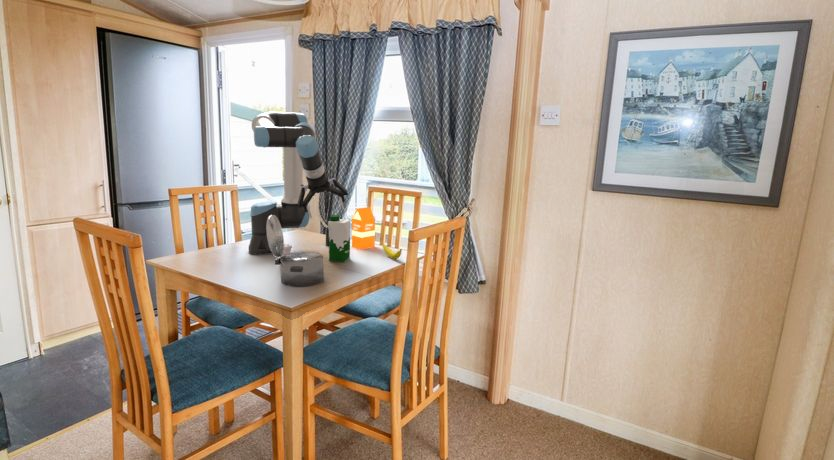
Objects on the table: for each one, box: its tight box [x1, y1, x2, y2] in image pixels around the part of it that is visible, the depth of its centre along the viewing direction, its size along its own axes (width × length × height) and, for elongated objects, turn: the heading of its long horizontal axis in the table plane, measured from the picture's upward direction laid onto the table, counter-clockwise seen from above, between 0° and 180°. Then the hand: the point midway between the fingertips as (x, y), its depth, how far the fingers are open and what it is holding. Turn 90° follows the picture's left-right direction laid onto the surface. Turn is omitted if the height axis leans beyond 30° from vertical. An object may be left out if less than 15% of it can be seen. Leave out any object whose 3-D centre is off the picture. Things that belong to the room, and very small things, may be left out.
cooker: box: [274, 251, 325, 288], centre depth 175 cm, size 18×21×9 cm
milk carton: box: [327, 214, 351, 263], centre depth 203 cm, size 9×9×20 cm
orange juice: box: [351, 206, 376, 250], centre depth 228 cm, size 8×9×20 cm
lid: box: [266, 215, 285, 258], centre depth 172 cm, size 16×16×2 cm
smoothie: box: [279, 243, 293, 269], centre depth 190 cm, size 6×6×14 cm
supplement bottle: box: [325, 226, 329, 247], centre depth 231 cm, size 7×7×12 cm
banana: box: [381, 242, 403, 260], centre depth 210 cm, size 3×19×6 cm, turn 30°
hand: (327, 211), depth 189 cm, fingers open, 13 cm apart
